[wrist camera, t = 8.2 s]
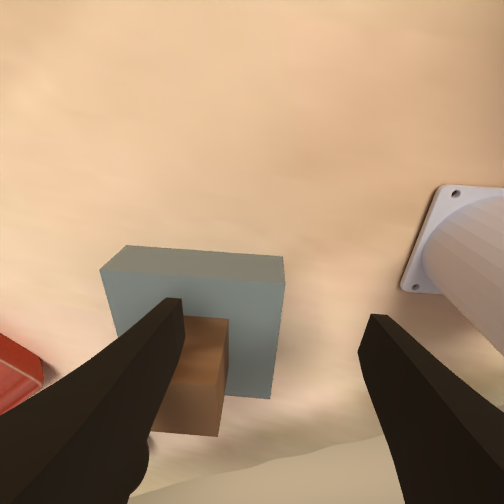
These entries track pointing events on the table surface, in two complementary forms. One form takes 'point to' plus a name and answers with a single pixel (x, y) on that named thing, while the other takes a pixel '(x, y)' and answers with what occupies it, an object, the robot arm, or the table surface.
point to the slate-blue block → (207, 301)
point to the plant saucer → (17, 374)
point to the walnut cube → (197, 380)
